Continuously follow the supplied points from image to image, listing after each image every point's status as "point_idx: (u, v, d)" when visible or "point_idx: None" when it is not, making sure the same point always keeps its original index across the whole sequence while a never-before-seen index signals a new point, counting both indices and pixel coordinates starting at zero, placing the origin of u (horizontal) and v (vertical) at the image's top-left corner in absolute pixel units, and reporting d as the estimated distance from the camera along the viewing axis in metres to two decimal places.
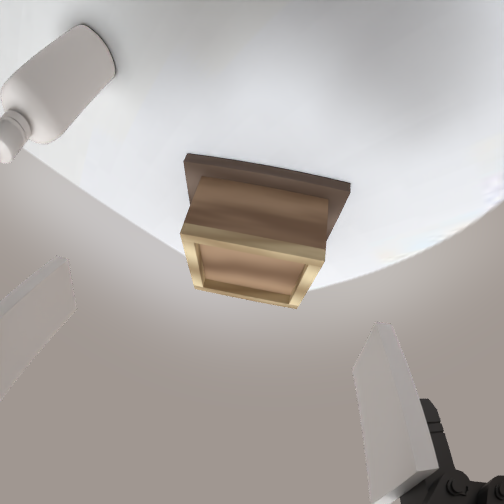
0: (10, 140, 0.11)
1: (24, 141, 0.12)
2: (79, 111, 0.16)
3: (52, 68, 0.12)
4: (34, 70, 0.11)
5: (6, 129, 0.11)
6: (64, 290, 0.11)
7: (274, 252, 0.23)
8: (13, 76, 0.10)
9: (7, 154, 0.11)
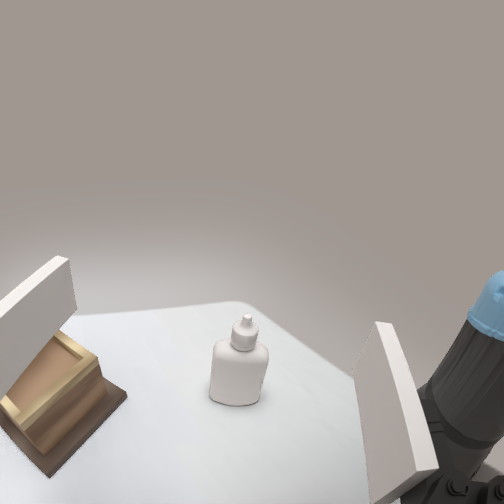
0: (243, 338, 0.27)
1: (233, 341, 0.28)
2: (213, 371, 0.29)
3: (250, 377, 0.29)
4: (259, 370, 0.29)
5: (249, 341, 0.27)
6: (64, 290, 0.11)
7: (45, 399, 0.19)
8: (267, 360, 0.29)
9: (239, 331, 0.27)
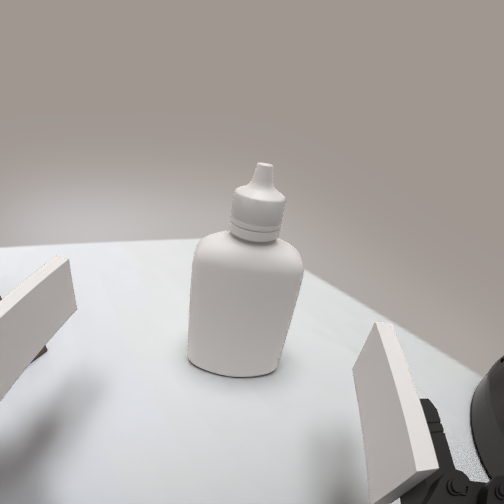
0: (255, 208, 0.13)
1: (234, 220, 0.14)
2: (194, 297, 0.15)
3: (267, 310, 0.15)
4: (285, 293, 0.15)
5: (268, 216, 0.13)
6: (64, 290, 0.11)
7: None
8: (302, 270, 0.15)
9: (247, 193, 0.13)
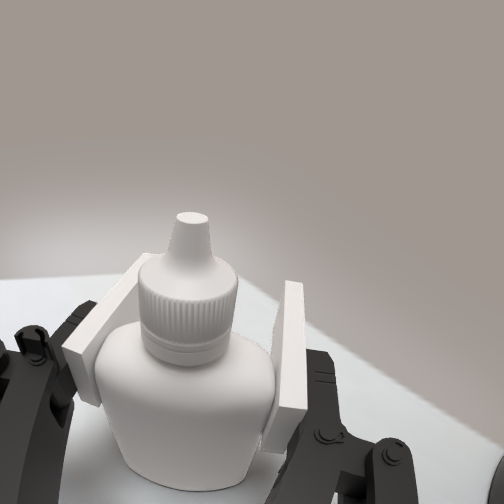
0: (171, 314, 0.06)
1: (142, 325, 0.07)
2: (108, 415, 0.08)
3: (215, 446, 0.08)
4: (243, 428, 0.08)
5: (199, 326, 0.07)
6: None
7: None
8: (272, 397, 0.08)
9: (155, 281, 0.06)
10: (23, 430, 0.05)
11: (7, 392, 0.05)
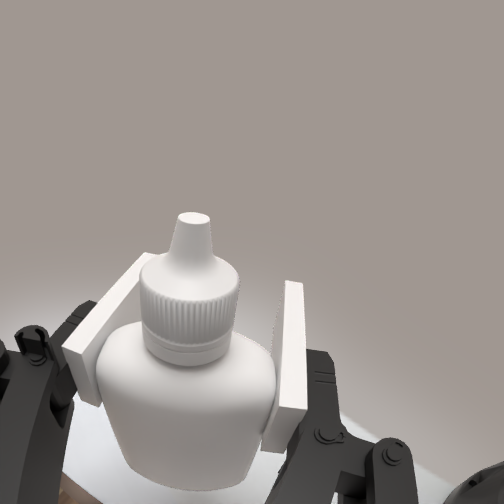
0: (172, 314, 0.06)
1: (144, 325, 0.07)
2: (109, 416, 0.08)
3: (217, 446, 0.08)
4: (244, 428, 0.08)
5: (201, 326, 0.07)
6: None
7: None
8: (273, 397, 0.08)
9: (157, 282, 0.06)
10: (22, 430, 0.05)
11: (7, 391, 0.05)
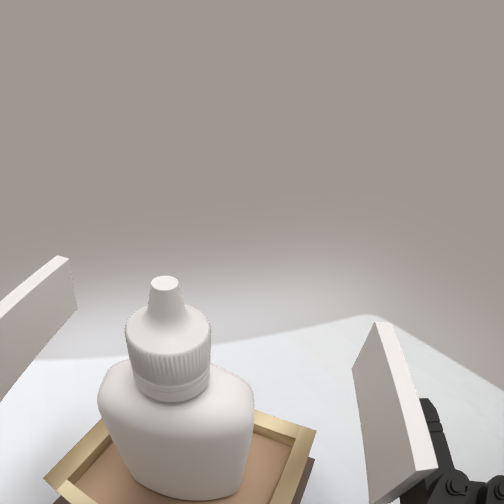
0: (153, 363, 0.07)
1: (132, 368, 0.08)
2: (112, 438, 0.09)
3: (205, 464, 0.09)
4: (226, 449, 0.09)
5: (178, 372, 0.07)
6: (64, 290, 0.11)
7: None
8: (249, 425, 0.09)
9: (138, 337, 0.07)
10: None
11: None
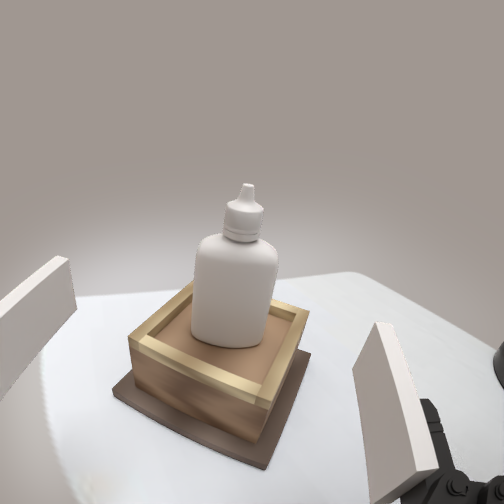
0: (241, 217, 0.19)
1: (226, 226, 0.19)
2: (196, 283, 0.21)
3: (251, 292, 0.20)
4: (264, 279, 0.20)
5: (250, 223, 0.19)
6: (64, 290, 0.11)
7: (285, 362, 0.21)
8: (277, 263, 0.20)
9: (235, 206, 0.19)
10: None
11: None
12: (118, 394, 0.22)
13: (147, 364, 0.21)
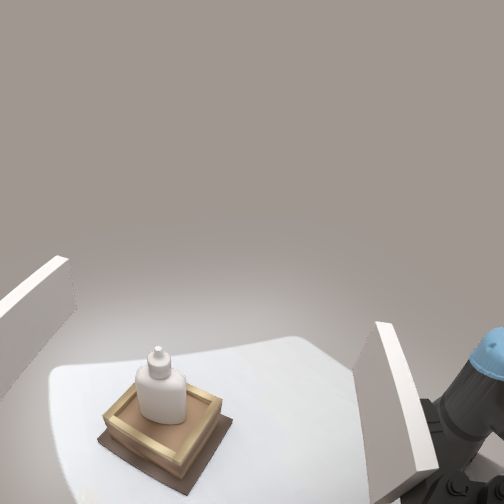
0: (154, 368, 0.28)
1: (148, 369, 0.28)
2: (137, 392, 0.30)
3: (168, 401, 0.29)
4: (175, 396, 0.29)
5: (161, 370, 0.28)
6: (64, 290, 0.11)
7: (194, 439, 0.30)
8: (182, 388, 0.29)
9: (151, 361, 0.28)
10: None
11: None
12: (101, 442, 0.31)
13: (115, 430, 0.30)
